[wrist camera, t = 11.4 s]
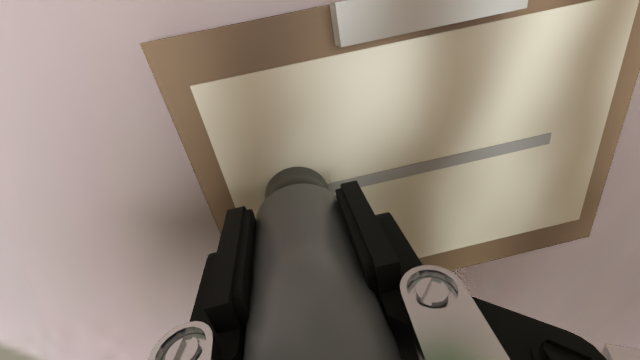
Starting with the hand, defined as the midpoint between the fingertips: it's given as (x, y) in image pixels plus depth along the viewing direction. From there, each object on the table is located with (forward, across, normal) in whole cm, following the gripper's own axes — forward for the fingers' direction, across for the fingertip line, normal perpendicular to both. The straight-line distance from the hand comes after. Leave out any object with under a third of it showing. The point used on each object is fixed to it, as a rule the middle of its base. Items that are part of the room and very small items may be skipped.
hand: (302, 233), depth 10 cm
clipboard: (+3, -6, 0) cm, 6 cm away
